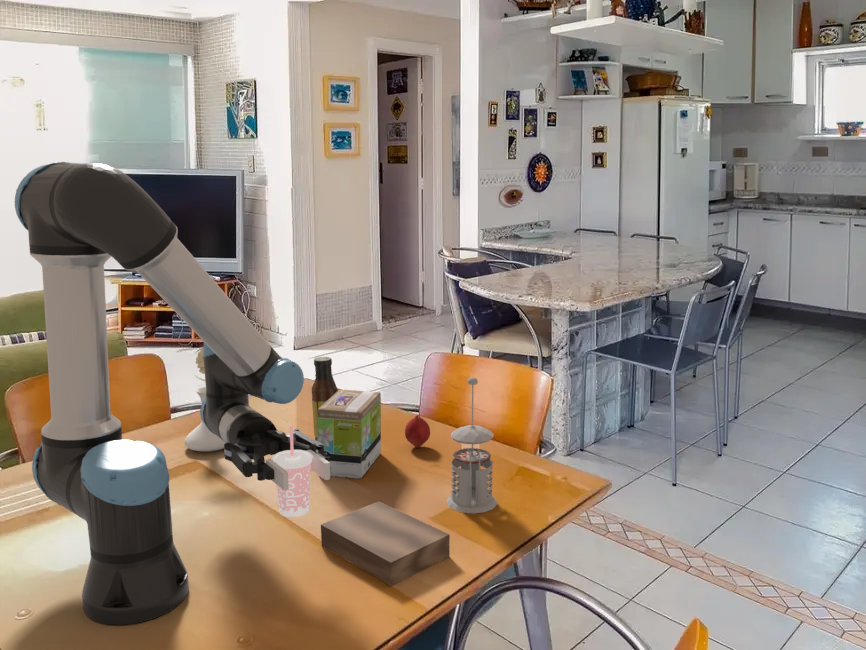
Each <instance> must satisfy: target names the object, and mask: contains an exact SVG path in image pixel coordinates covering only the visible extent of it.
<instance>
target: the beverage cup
mask: <svg viewBox="0 0 866 650" xmlns="http://www.w3.org/2000/svg"><path fill="white" fill-rule="evenodd" d="M293 432H294V427H293V424H290V425H289V434H290V450H285V451H282V452H278V453H277V454H275V455H272V457H271V459H272V460H273V461H274V462H275V463H277V464H278V465H279V466H281V467H282V468H283V469H284V470H286V471H287V472H288V485H289V489H288V490H283V489H281V488H280V487H279V486H278V485H277V484H275V485H276V492H277V493H276V494H277V501H278V511H279V514H280V515H281V516H283V517H286V518H298V517H303V516H304V515H307V514H308V513H309V510H310V495H311V494H310V492H311V469H310V467H311V462H312V454H311V453H310V452H308V451H304V450H294V447H293Z"/></svg>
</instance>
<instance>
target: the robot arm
mask: <svg viewBox="0 0 866 650" xmlns="http://www.w3.org/2000/svg"><path fill="white" fill-rule="evenodd" d="M14 210H15V212H16V216H17V218H18V220H19V222H20V223H21V225H22V226H23V227H24V229H25V230H26V231H27V232H28V234H27V235H28V246H29V255H30V256H31V257H32V258H33V259H34V260H36V261H37V262H38V263H39V264H40V266H41V268H42V271H41V272H42V283H43V284H42V285H43V286H42V287H43V303H44V304H43V305H44V318H45V319H44V320H45V334H46V335H45V336H46V337H45V338H46V350H47V353H46V354H47V366H48V367H47V369H48V385H49V399H50V404H49V405H50V419H49V421H47V423H45V424H44V425H43V426H42V427H41V431H40V433H41V443H40V445H39V446H38V447H36V449H35V451H34V454H33V457H32V461H31V462H32V463H31V471H32V476H33V480H34V481H35V483H36V485H37V487H38V488H39V490H40V491H42V494H44V495H45V496H46V497H47V498H48V499H49V500H50V501H51V502H54V503H56V504H57V505H58V506H61V507H63V508H65V509H66V510H68V511H70V512H71V513H73V514H75V515H77V516H78V518H81V519H82V520H84V521H85V522H86V523H87V531H88V533H87V534H88V541H89V551H90V560H89V565H88V568H87V572H86V576H85V579H84V584H83V587H82V593H81V597H82V599H81V600H82V608H83V612H84V614H85V615H86V616H87V617H88V618H89V619H90V620H92V621H93V622H94V621H95V622H98V623H101V624H105V625H112V626H113V625H116V626H117V625H118V626H120V625H132V624H137V623H143V622H146V621H150V620H153V619H155V618H158V617H160V616H164V615H165V614H167V613H169V612H171V611H172V610H174V609H176V608H177V607H178V606H180V604H181V603H183V601H184V600H185V599H186V597H188V596H187V595H188V594H189V590H190V586H189V585H190V584H189V574H188V571H187V568H186V567H185V565H184V563H183V560H182V557H181V556H180V554H179V552H178V548H176V545H175V543H174V539H173V538H174V536H173V523H172V522H173V521H172V520H173V519H172V509H171V495H170V494H171V493H170V485H169V484H170V473H169V468H168V464H167V459H166V456H165V454H164V453H163V451H162V450H161V449H160V448H159V447H157V445H155V444H154V443H153V444H152V443H150V442H147V441H144V440H136V441H133V440H132V439H123V431H122V430H123V428H122V421H121V420H120V419H118V418H117V417H116V416H114V415H113V414H112V412H111V392H110V389H111V388H110V372H109V351H108V350H109V348H108V347H109V345H108V329H107V328H108V325H107V307H106V305H107V304H106V303H107V301H106V285H105V283H106V282H105V281H106V280H105V264H106V262H107V261H108V260H110V258H112V259H114V260H115V261H116V262H117V263H118V264H119V265H120V266H121V268H123V269H124V270H126V271H129V272H130V271H131V272H134V271H135V272H137V274H138V275H140V277H141V278H142V279H143V280H144V281H145V282H146V283H147V284H148V285H149V286H150V287H151V288H152V290H154V291H155V292H156V293H157V295H159V296H160V298H162V300H164V302H165V303H167V305H168V306H169V307H170V308H171V309H172V310H173V312H175V313H176V314H177V315H178V316H179V318H180V319H182V320H183V321H184V323H185V324H186V325H188V327H189V328H190V329H191V330H192V331H193V332H194V333H195V334H196V335H197V336H198V337H199V339H201V341H202V342H203V347H204V356H203V359H204V371H205V374H204V379H205V381H204V382H205V386H206V398H205V400H204V401H203V403H202V402H201V406H200V409H199V411H200V414H199V416H200V420H201V422H202V421H203V423H204V424H205V425H206V427H207V428H208V429H209V430H210V432H212V433H213V434H215V435H217V436H218V437H219V438H221V439H222V440H223V441H224V442H225V444H224V448H223V449H224V450H223V452H224V459H225V460H226V461H229V462H231V463H232V464H233V465H234V466H235V467H236V469H238V470H239V472H240V473H241V474H242V475H243V476H244V477H245V478H251V477H253V476H254V475H255V474H256V476H257V477H256V478H257V481H260V482H261V481H265V480H266V481H267V480H268V481H272V482H273V483H274V484H275V485H276V484H277V485H278V486H279V487H280V488H281V489H283V490H288V489H289V485H288V472H287V471H286V470H284V469H283V468H282V467H281V466H279V465H278V464H277V463H275V462H274V461H273V460H272V458H267V459H265V457H266V456H268V455H270V456H274V455H275V454H277V453H278V452H282V451H285V450H290V433H289V434H286V433H285V432H284V431H281V430H278V429H277V428H276V425H275V424H274V423H273V421H272V420H270V419H268V418H267V417H266V416H264V415H263V414H262V413H260V412H259V411H257V410H256V409H254V408H252V407H251V406H250V400H249V396H252V397H254V398H255V397H256V398H257V399H261V400H264V401H265V402H267V403H276V404H279V405H286V404H289V403H291V402H293V401H294V400H295V399H297V397H298V396H299V395H300V394H301V391H302V389H303V387H304V382H305V375H304V371H303V369H302V367H301V366H300V365H299V364H298V362H297V363H296V362H295V361H293V360H290V359H289V358H286V357H281V355H279V353H278V352H277V351H276V350H275V349H274V348H273V346H271V345H270V343H269V342H268V341H267V339H265V338H264V336H263V335H262V334H261V333H260V332H259V331H258V330H257V328H256V326H254V325H253V324H252V323H251V322H250V320H249V319H248V318H247V317H246V316H245V315H244V314H243V312H242V311H241V310H240V309H239V308H238V306H237V305H236V304H235V303H234V301H232V300H231V298H230V297H229V296H228V295H227V294H226V292H224V290H223V289H222V288H221V286H219V285H218V283H217V282H216V281H215V280H214V278H213V277H212V276H211V275H210V274H209V273H208V272H207V270H206V269H205V268H204V267H203V266H202V264H200V263H199V261H198V260H197V259H196V258H195V257H194V256H193V254H192V253H191V252H190V251H189V250H188V248H186V246H185V245H184V244H183V243H182V242H181V240H179V238H178V233H179V232H178V231H179V230H178V227H177V225H176V224H175V223H174V222H173V220H171V218H170V217H169V216H168V214H166V212H165V211H164V210H163V209H162V208H161V207H160V205H159V204H158V203H157V202H156V201H155V200H154V199H153V198H152V197H151V196H150V194H148V192H147V191H145V190H144V188H143V187H141V186H140V185H139V184H138V183H137V182H136V181H135V180H134V179H132V178H131V177H130V176H129V175H127V174H126V173H124V172H123V171H121V170H120V169H118V168H115V167H114V166H111V165H108V164H105V163H104V164H103V163H99V162H98V163H97V162H87V163H86V162H85V163H84V162H68V161H56V162H52V163H48V164H43V165H40V166H38V167H35V168H34V169H32V170H31V171H29V172H28V173H27V174H26V175H25V176H24V177H23V178H22V180H21V181H20V182H19V184H18V186H17V188H16V191H15V196H14ZM293 447H294V450H304V451H308V452H310V453H311V454H312V462H311V467H310V471H312V472H314V473H315V474H316V475H317V476H319V477H321V478H322V479H323V480H324V481H328V480H330V479H331V476H330V462H328V461H327V460H325V457H324V444H322V443H320V442H318V441H316V440H315V438H312V437H310V436H309V435H307V434H305V433H303V431H302V429H300V428H296V429H293ZM277 485H276V486H277Z"/></svg>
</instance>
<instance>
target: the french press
mask: <svg viewBox="0 0 866 650" xmlns="http://www.w3.org/2000/svg"><path fill="white" fill-rule="evenodd" d="M478 383H479V381H478V379H477V377H473V376H471V377H469V378H468V379H467V384H468V385H471V424H469V425H468V424H467V425H465V426H460V427H458V428H456V429H455V430H453V431H452V432H451V433H450V437H451V438H452V440H453V441H455V442H456V443H459V444H465V445H471V447H467V448H464V447H463V448H461V449H457V450H456V451H455V452H453V457H454V458H452V461H451V464H450V465H451V467H450V468H451V469H452V471H451V476H452V477H451V480H450V481H451V482H452V483H451V490H450V491H451V492H450V493H451V494H450V496H449V497H447V500H446V504H447V506H448V507H449V508H450V509H452V510H454V511H455V512H456V511H457V512H458V513H459V512H460V513H463V514H480V513H486V512H489V511H492V510H493V509H494V508H496V507H497V504H498V501H497V499H496V498H495V496H493V467H494V466H493V464H494V463H493V460H492V459H491V458H492V457H491V456H492V454H491V453H490V452H489V451H487V450H486V449H482V448H477V447H474V445H482V444H484V443H488V442H490V441H491V440H492V439H493V438H494V435H495V434H494V433H493V431H491V430H489V429H487V428H485V427H483V426H480V425H474V386H475V385H478ZM482 467H483V468H482Z"/></svg>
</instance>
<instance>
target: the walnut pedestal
mask: <svg viewBox="0 0 866 650" xmlns="http://www.w3.org/2000/svg"><path fill="white" fill-rule="evenodd" d="M320 538H321V539H320V540H321V547H322V546H323V548H324V549H325V550H327V551H329V550H330V552H331V553H333V554H335V555H336V554H337V555H336V556H338V555H339V556H338V557H340V558H342V559H343V558H344V560H345V559H346V560H345V561H347V560H348V561H347V562H349V561H350V562H351V563H350V562H349V563H350V564H352V563H353V564H352V565H354V566H355V565H356V566H355V567H358V569H359V568H360V569H361V570H363V571H364V572H366V573H368V574H369V575H372V576H373V577H375V578H377V579H378V580H380V581H382V582H383V583H384V584H386V585H389V587H392V586H394V585H396V584H398V583H400V582H402V581H403V580H406V579H408V578H410V577H412V576H414V575H416V574H417V573H420V572H422V571H424V570H426V569H427V568H430V567H431V566H434V565H436V564H438V563H439V562H442V561H443V560H445V559H447V558H449V557H450V534H449V533H448V532H445V531H443V530H440V529H438V528H437V527H434V526H432V525H431V524H428V523H426V522H423V521H422V520H419V519H417V518H415V517H413V516H412V515H409V514H406V513H404V512H402V511H400V510H399V509H396V508H394V507H392V506H390V505H388V504H386V503H384V502H381V501H379V500H378V501H376V502H373V503H371V504H368V505H365V506H363V507H361V508H359V509H356V510H354V511H351V512H348V513H345V514H343V515H341V516H339V517H336V518H334V519H331V520H328V521H327V522H324V523H321V524H320Z"/></svg>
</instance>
